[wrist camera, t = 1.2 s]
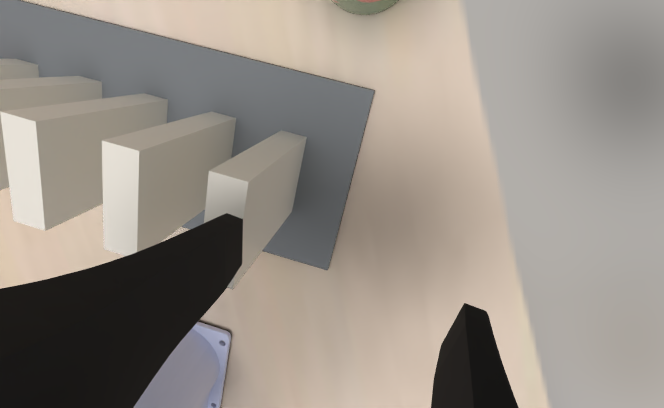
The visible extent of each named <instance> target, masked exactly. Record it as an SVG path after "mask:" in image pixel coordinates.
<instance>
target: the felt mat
mask: <svg viewBox="0 0 664 408" xmlns="http://www.w3.org/2000/svg"><path fill="white" fill-rule="evenodd" d="M0 59H19V60H22V61H26V62H30V63H33V64H37V65H38V71H39V78H42V77H63V76H82V77H85V78H89V79H93V80H97V81H100V82H102V99H103V98H111V97H119V96H127V95H135V94H143V93H145V94H149V95H152V96H156V97H160V98H163V99H167V100H168V108H167V123H170V122H174V121H177V120H181V119H185V118H189V117H193V116H196V115H200V114H204V113H208V112H215V113H219V114H223V115H227V116H230V117H234V118H236V124H235V132H234V140H233V148H232V156H231V158H233V157H235V156H236V155H238V154H240V153H242V152H244V151H245V150H247V149H249V148H251V147H252V146H254V145H256V144H258V143H260V142H261V141H263V140H265V139H267V138H269V137H270V136H272V135H274V134H276V133H277V132H279V131H281V130H282V131H286V132H290V133H293V134H297V135H301V136H305V137H307V139H306V144H305V149H304V154H303V159H302V164H301V169H300V174H299V179H298V184H297V189H296V194H295V199H294V204H293V209H292V212H291V213H290V215H289V216H288V217H287V219H286V220H285V221H284V223H283V224H282V225H281V227H280V228H279V229H278V231H277V232H276V233H275V235H274V236H273V237H272V238H271V240H270V241H269V242H268V244H267V245H266V246H265V248H264V249H263V250H262V251H264V252H268V253H271V254H274V255H278V256H281V257H284V258H288V259H291V260H294V261H298V262H301V263H304V264H308V265H311V266H314V267H318V268H321V269H324V270H328V268H329V264H330V261H331V257H332V253H333V249H334V245H335V241H336V237H337V234H338V230H339V226H340V222H341V218H342V214H343V211H344V207H345V203H346V199H347V195H348V191H349V187H350V184H351V180H352V176H353V172H354V168H355V164H356V161H357V157H358V153H359V149H360V145H361V141H362V137H363V134H364V130H365V126H366V122H367V118H368V114H369V111H370V107H371V103H372V99H373V95H374V91H375V90H371V89H367V88H363V87H359V86H355V85H352V84H348V83H344V82H340V81H336V80H332V79H328V78H324V77H320V76H316V75H312V74H308V73H304V72H300V71H296V70H292V69H289V68H285V67H281V66H277V65H273V64H269V63H265V62H261V61H257V60H253V59H249V58H245V57H241V56H237V55H233V54H229V53H225V52H222V51H218V50H214V49H210V48H206V47H202V46H198V45H194V44H190V43H186V42H182V41H178V40H174V39H170V38H166V37H162V36H159V35H155V34H151V33H147V32H143V31H139V30H135V29H131V28H127V27H123V26H119V25H115V24H111V23H107V22H103V21H99V20H96V19H92V18H88V17H84V16H80V15H76V14H72V13H68V12H64V11H60V10H56V9H52V8H48V7H44V6H40V5H36V4H32V3H29V2H25V1H21V0H0ZM204 216H205V209H204V210H203V211H202V212H200V213H199V214H198V215H196V216H195V217H194V218H192V219H191V220H190V221H188V222H187V223H186V224H184V225H183V226H181V227H184V228H188V229H193V228H195V227H197V226H199V225H201V224H204Z"/></svg>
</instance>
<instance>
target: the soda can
mask: <svg viewBox="0 0 664 408" xmlns="http://www.w3.org/2000/svg"><path fill="white" fill-rule="evenodd" d="M331 1H332V2H333V3H335V4H336V5H337V6H339V7H340V8H342V9H343V10H345V11H347V12H350V13H353V14H359V15H370V14H375V13H378V12H381V11H383V10H385V9H387V8H389V7H391V6H392V5H393V4H395V3H396V2H397V1H398V0H331Z"/></svg>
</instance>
